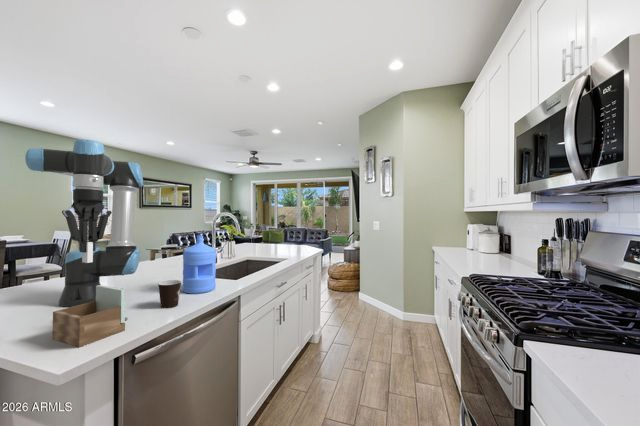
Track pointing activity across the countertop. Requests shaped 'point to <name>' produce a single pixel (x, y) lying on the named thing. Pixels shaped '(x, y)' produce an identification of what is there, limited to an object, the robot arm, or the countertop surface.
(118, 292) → the cabinet door
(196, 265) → the water jug
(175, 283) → the coffee mug
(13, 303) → the countertop surface
